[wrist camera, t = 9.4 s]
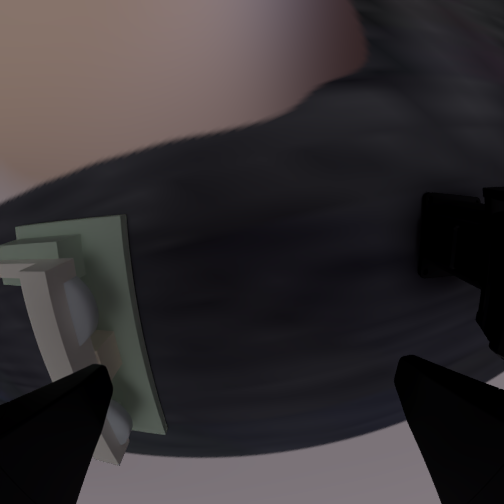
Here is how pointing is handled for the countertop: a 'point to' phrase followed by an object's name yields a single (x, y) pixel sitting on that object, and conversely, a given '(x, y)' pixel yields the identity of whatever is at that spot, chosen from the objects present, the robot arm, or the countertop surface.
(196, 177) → the countertop surface
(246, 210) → the countertop surface
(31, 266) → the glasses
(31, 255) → the stand
